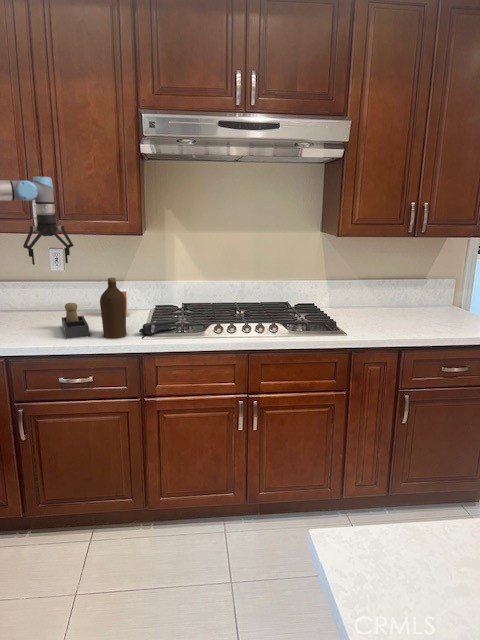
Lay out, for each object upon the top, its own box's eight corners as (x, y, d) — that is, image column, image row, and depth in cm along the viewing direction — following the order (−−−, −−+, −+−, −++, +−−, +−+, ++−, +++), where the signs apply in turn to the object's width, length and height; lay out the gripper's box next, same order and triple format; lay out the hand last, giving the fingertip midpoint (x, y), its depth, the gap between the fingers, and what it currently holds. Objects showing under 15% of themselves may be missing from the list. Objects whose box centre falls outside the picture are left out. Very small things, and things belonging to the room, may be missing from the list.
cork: (82, 326, 209) (80, 302, 206) (71, 329, 204) (69, 305, 201) (73, 324, 212) (71, 301, 209) (62, 327, 207) (60, 303, 204)
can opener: (145, 337, 197) (145, 325, 195) (137, 334, 202) (137, 321, 200) (180, 330, 208) (180, 318, 207) (172, 326, 213) (171, 315, 212)
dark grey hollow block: (65, 338, 194) (64, 327, 193) (62, 327, 210) (61, 317, 209) (89, 336, 198) (88, 325, 197) (84, 325, 214) (83, 315, 212)
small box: (110, 317, 228) (109, 291, 224) (111, 314, 234) (109, 288, 230) (127, 316, 230) (126, 291, 226) (127, 313, 236) (126, 288, 232)
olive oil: (130, 337, 197) (127, 279, 191) (105, 340, 193) (101, 281, 186) (124, 331, 206) (121, 275, 200) (99, 333, 202) (96, 277, 195)
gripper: (13, 214, 191) (19, 266, 197) (77, 214, 201) (81, 263, 207) (13, 213, 198) (19, 263, 203) (75, 213, 208) (79, 261, 213)
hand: (50, 263), depth 205 cm, fingers open, 13 cm apart
